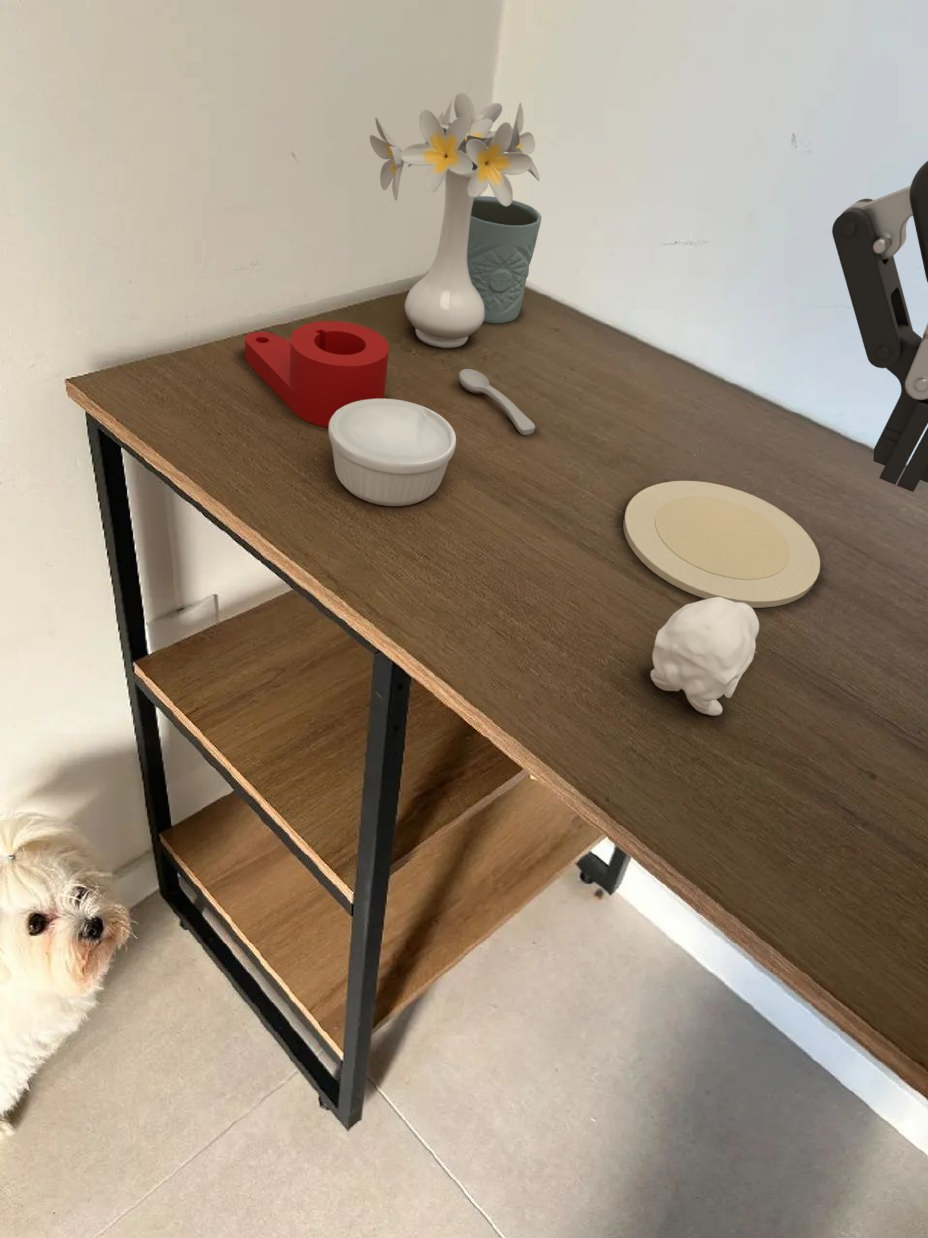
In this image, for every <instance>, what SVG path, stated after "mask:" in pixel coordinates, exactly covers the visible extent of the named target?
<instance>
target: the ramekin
mask: <svg viewBox="0 0 928 1238" xmlns="http://www.w3.org/2000/svg"><path fill="white" fill-rule="evenodd" d="M328 438H329V441H330V443H331V450H332V457H333V463H334V471H335V474H336V477H337V479H338V480H339V482H340V484H341V485H343V487H344V488H345V489H346V490H347V491H348V492H349V493H350V494H352V495H353V496H355V497H357V498H358V499H360V500H363V501H365V502H368V503H371V504H374V505H379V506H385V507H404V506H410V505H415V504H417V503H420V502H422V501H424V500H427V499H428V498H429V497H431V496H432V495H434V494H435V492H436V491H437V490H438V489H439V487H440V485H441V483H442V480H443V478H444V476H445V473H446V470H447V467H448V465H449V462H450V460H451V459H452V457H453V455H454V454H455V452H456V451H455V450H456V446H457V436H456V432H455V430H454V428H453V427H452V425H451V423H450V422H448V421H447V419H446V418H444V417H443V416H442V415H440V414H439V413H438V412H436V411H434V410H432V409H430V408H428V407H425V406H423V405H420V404H417V403H414V402H411V401H406V400H403V399H396V398H384V399H380V398H379V399H367V400H361V401H356V402H353V403H350V404H348V405H345V406H343V407H342V408H340V409H338V410H337V411H336V412H335V413H334V414H333V416H332V417H331V419H330V422H329V428H328Z"/></svg>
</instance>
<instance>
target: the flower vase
mask: <svg viewBox="0 0 928 1238" xmlns="http://www.w3.org/2000/svg"><path fill="white" fill-rule="evenodd" d="M453 102H454V103H453ZM452 103H453V105H454V106H453V108H454V113H455V116H454V115H451V109H452ZM502 112H503V105H502V104H501V103H500V102H494V103H491V104H488V105H486V106H485V107H483V109H481V110H480V111H479V112H478V114H476V109H475V105H474V103H473V101H472V99H471V97H470V96H469V95H467V94H466V93H465V92H460V93H457V94H456V96H455V97H454V101H453V100H452V99H451V100H450V102H449V104H448V106H447V108H446V110H445V113H444V112H441V113H440V114H439V115H438V117H437V116H436V114H435V113H434V112H433V111H431V110H429V109H424V110H422V111H421V113H420V114H419V122H418V123H419V129H420V132H421V135H422V137H423V139H424V142H418V143H413V144H410V145H407V146H406V147H405V148H404V149H402V148H401V147H400V146H399V145H398V144H397V142H396V141H395V140H394V139H393V138H392V137H391V135H390V134H389V133H388V131H387V130H386V128H385V126H384V125H383V124H382V123H381V121H380V119H379V118H378V117H375V118H374V119H375V127H376V130H377V132H378V134H379V136H380V137H378V136H377V135H374V134H370V135H369V143H370V146H371V148H372V150H373V151H374V153H375V154H376V155H377V156H378V157H379V158H380V159H382V160H387V161H385V162H384V163H383V164H382V166H381V169H380V172H379V173H380V174H379V179H380V181H379V182H380V187H381V189H382V190H383V191H386V190H387V189H388V187H389V186H390V184H391V186H392V187H391V189H392V195H393V198H394V200H395V201H397V200H398V194H399V188H400V182H401V177H402V173H403V168H404V165H405V164H406V165H408V166H407V168H410V167H411V166H416V167H417V166H427V167H426V169H425V173H424V178H423V183H424V189H425V190H426V192H427V193H431V194H433V193H435V192H436V191H438V189H439V188H440V186H441V185H442V183H443V181H444V190H445V191H444V206H443V207H444V209H443V214H442V215H443V217H442V222H441V230H440V235H439V236H440V237H439V242H438V246H437V251H436V254H435V259H434V260H433V262H432V264H431V267H430V268H429V270H428V271H427V273H426V275H425V276H424V277H422V278H421V279H420V280H419V281H417V282H416V283H415V284H414V285H413V286H412V287H411V288H410V289H409V291H408V293H407V295H406V298H405V301H404V305H403V306H404V307H403V308H404V312H405V315H406V318H407V319H408V321H409V323H410V324H411V325H412V326H413V327H414V328H415V329H414V330H415V335H416V337H417V338H418V339H419V341H421V342H423V343H424V344H427V345H429V346H432V347H436V348H442V349H451V348H452V349H454V348H459V347H461V346H463V345H465V344H466V343H467V342H468V340H469V336H471V335H473V334H475V333H476V332H477V331H478V330H479V329H480V327H481V326H482V325H483V324H484V323H485V322H484V318H485V306H484V302H483V300H482V298H481V296H480V294H479V292H478V291H477V289H476V288H475V287H474V285H473V284H472V282H471V278H470V275H469V270H468V264H467V250H468V238H469V228H470V219H471V212H472V206H473V202H474V198H475V197H478V196H482V194H483V193H485V192H486V190H487V189H488V187H490V189H491V190H492V193H493V195H494V197H496V198H497V200H498V201H499V202H500V203H501V204H502V205H503V206H509V205H510V204H511V203H512V200H514V191H513V186H512V184H511V181H510V180H509V179H510V178H509V177H508V176H515V175H516V176H517V175H521V174H525V173H526V172H528V173H529V174H531V175H532V176H533V177H534V178H535V179H536V180H537V181H538V182H540V179H541V178H540V175H539V172H538V170H537V167H536V164H535V163H534V161H533V159H532V157H531V156H530V155H529V154H532V153H533V152H534V151H535V149H536V140H535V137H534V135H533V134H532V132H530V131H525V132H523V133H522V131H523V129H524V121H525V120H524V119H525V118H524V110H523V105H522V102H518V107H517V110H516V116H515V119H514V124H513V127H512V125H511V124H510V123H511V122H507V121H505V122H503V123H501V124H500V125H499V126H498V127H497V129H496V130H493V131H492V130H491V129H492V127H493V126H494V123H495V122H496V121H497V120H498V118H499V117H500V115H502ZM506 175H507V176H506Z"/></svg>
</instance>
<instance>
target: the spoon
mask: <svg viewBox="0 0 928 1238" xmlns="http://www.w3.org/2000/svg"><path fill="white" fill-rule="evenodd" d="M458 381H459V383H460V385H461V386H462V388H463V389H465V390H466V391H467V392H468V393H472V394H477V395H480V394H485V395H488V397H490V398H491V399H492V400H493V401H495V402H496V403H497V404H498V406H500V407H501V408H502V410H503V411H504V412H505V414H506V415H507V416H508V418H509V419H510V421H511V422H512V423H513V425H514V427H515V428H516V430H517V432H518V433H519V434H521V435H522V436H528V435H532V434H533V433H534V431H535V430H536V425H535V423H534V422H533V421H532V420H531V419H530V418H529V417H527V416H526V414H524V413H523V412H522V411H521V410H520V409H519V408H518V407H517V406H516V404H514V403H513V402H512V401H511V400H510V399H509V398H508V397H507V396H505V395H504V394H503V393H501V392H500V391H499V390H497V388H495V387H493V386H492V385H490V380H489V379H488V377H486V376H485V374H483V373H481V372H480V371H478V370H475V369H472V368H464V369H462V370H460V371H459V373H458Z"/></svg>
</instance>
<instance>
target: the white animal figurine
mask: <svg viewBox="0 0 928 1238" xmlns="http://www.w3.org/2000/svg"><path fill="white" fill-rule="evenodd" d="M759 631H760V622H759V618H758V616H757V614H756V612H755V610H754V608H751V607H750V606H749V605H747V604H745V603H742V602H736V603H735V602H733V601H730V600H727V599H724V598H722V597H714V598H710V599H702V600H698V601H695V602H692V603H687V604H684V605H683V606H682V607H681V608H679V609H678V610H676V611H675V612H674V613H673V614H672V615H671V616H670V617H669V619H668V620H667V622H666V623H665V624H664V625H663V626H662V627H661V628H660V629H658V631H657V634H656V636H655V640H654V646H653V650H652V654H651V655H652V656H651V657H652V660H651V661H652V664H653V667H654V668H653V669H652V670H650V674H649V677H650V679H651V681H652V683H653V684H654V686H656V687H657V688H659V689H660V690H662V691H665V692H679V691H680V690H682V691H683V692H684V694H685V696H686V699H687V701H688V702H689V704H690V705H691V706H692V707H693V708H694V709H695V711H697V712H699V713H701V714H704V715H709V716H712V717H713V716H716V717H717V716H719V715H721V714H722V713H723V706H722V705H721V703H720V702H719V700H717V699H719V698H721V697H723V695H724V696H725V698H727V699H731V698H732V697H733V695H734V692H735V690H736V689H737V686H738V684H739V681H740V680H741V678H742V676H743V675H744V673H745V672H746V671H747V669H748V668H749V666H750V665H751V663H752V662H753V660H754V656H755V654H758V652H757V651H756V648H757V646H756V645H757V643H756V638H757V637H758V634H759Z"/></svg>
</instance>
